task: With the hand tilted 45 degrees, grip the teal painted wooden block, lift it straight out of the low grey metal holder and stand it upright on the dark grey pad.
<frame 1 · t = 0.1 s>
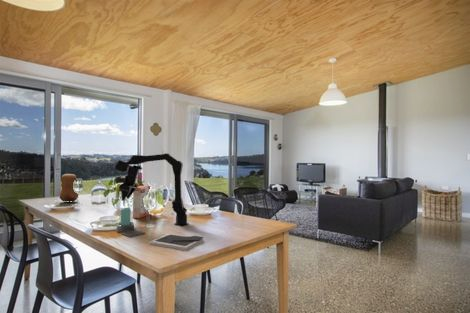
hand: (125, 199, 172), 15 cm above the table, tool pointing down, fingers open, 9 cm apart
dark grey pad: (133, 233, 152), on the table
butternut squash: (68, 202, 245), on the table
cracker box: (141, 216, 195), on the table
picture frame: (177, 244, 139), on the table
teal block: (125, 219, 161), in the grey holder
grey holder: (125, 229, 161), on the table
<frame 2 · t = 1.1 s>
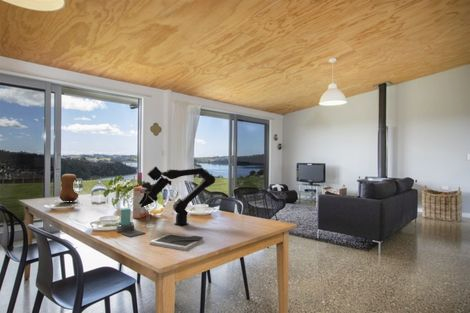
hand: (140, 205, 164), 13 cm above the table, tool tilted 45°, fingers open, 9 cm apart
nothing on the table moved.
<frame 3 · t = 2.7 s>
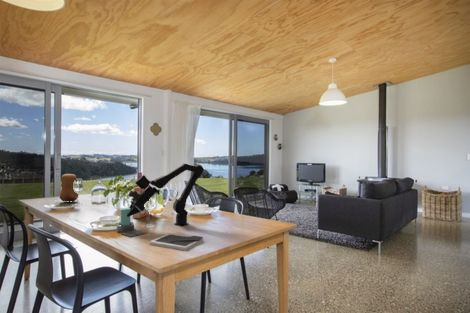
hand: (126, 214, 161), 8 cm above the table, tool tilted 45°, fingers open, 9 cm apart
nothing on the table moved.
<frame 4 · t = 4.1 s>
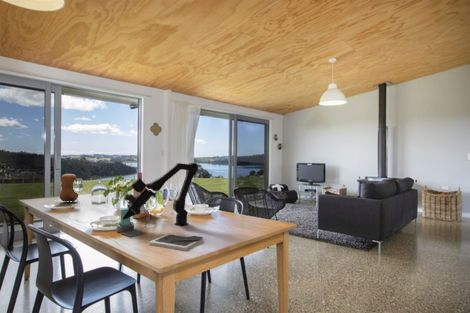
hand: (122, 218, 160), 7 cm above the table, tool tilted 45°, fingers closed on teal block, 5 cm apart
teal block: (125, 219, 161), in the grey holder, touching gripper
everything else where it was.
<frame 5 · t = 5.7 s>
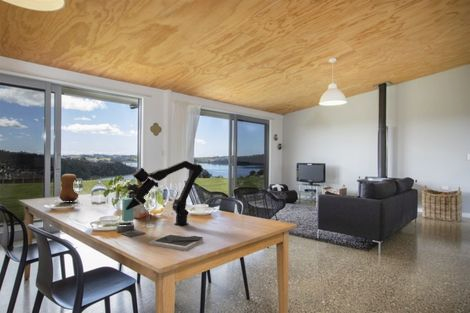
hand: (125, 208, 156), 13 cm above the table, tool tilted 45°, fingers closed on teal block, 5 cm apart
teal block: (127, 209, 157), point 12 cm above the table, touching gripper
everything else where it was.
when the fingers open (8 cm above the table, at t = 7.7 s): teal block drops 1 cm, resting on dark grey pad.
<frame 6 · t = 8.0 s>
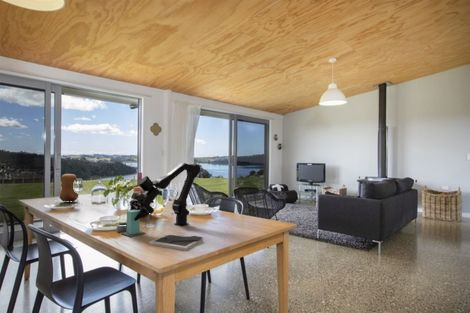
hand: (130, 219, 151), 8 cm above the table, tool tilted 45°, fingers open, 8 cm apart
teal block: (133, 221, 152), on the dark grey pad, point 7 cm above the table
everything else where it was.
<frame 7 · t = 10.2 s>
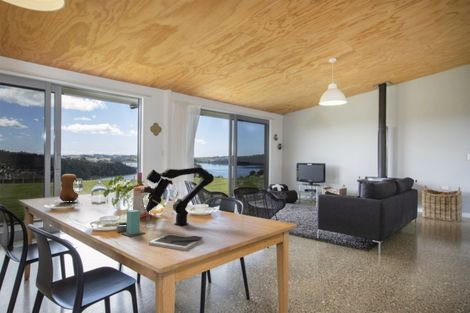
hand: (147, 210, 165), 10 cm above the table, tool tilted 30°, fingers open, 9 cm apart
nothing on the table moved.
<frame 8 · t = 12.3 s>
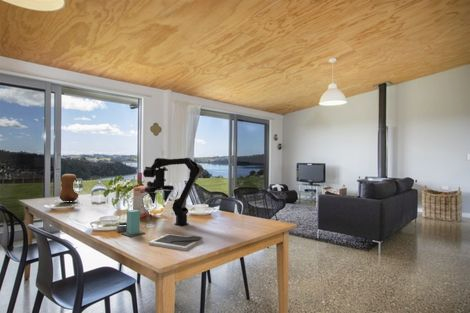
hand: (159, 202, 178), 13 cm above the table, tool pointing down, fingers open, 9 cm apart
nothing on the table moved.
at the end: teal block 0.0 cm off-centre on the dark grey pad, point 6.6 cm above the dark grey pad's base; teal block tilted 0°; the gripper is holding nothing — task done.
